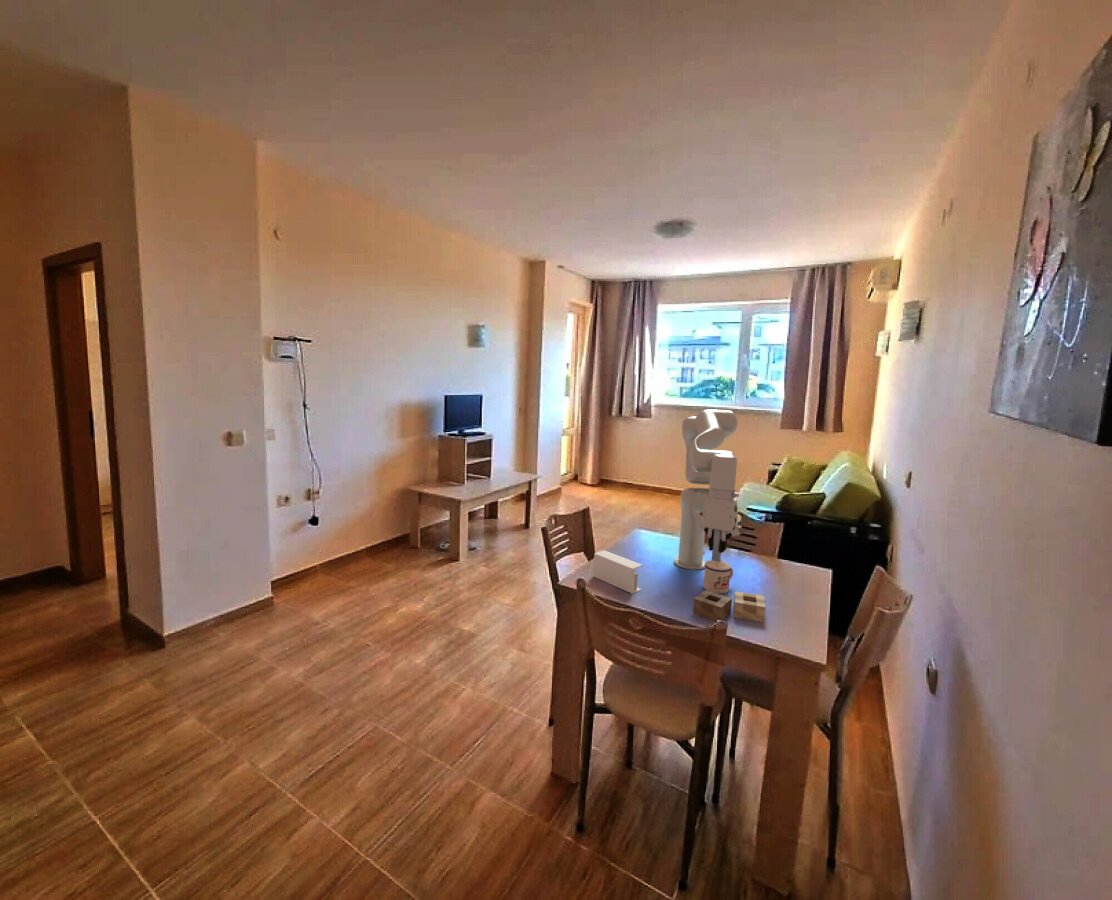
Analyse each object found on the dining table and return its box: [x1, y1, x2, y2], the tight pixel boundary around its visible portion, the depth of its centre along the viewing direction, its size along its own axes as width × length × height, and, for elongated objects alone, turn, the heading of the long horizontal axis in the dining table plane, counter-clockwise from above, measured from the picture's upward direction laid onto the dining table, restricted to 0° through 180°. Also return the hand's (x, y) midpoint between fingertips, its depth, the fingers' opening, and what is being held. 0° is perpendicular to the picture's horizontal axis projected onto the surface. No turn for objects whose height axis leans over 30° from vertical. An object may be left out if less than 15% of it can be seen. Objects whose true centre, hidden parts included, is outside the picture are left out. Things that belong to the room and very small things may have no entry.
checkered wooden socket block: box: [733, 590, 766, 623], centre depth 166 cm, size 9×9×5 cm
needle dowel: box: [711, 529, 722, 561], centre depth 162 cm, size 3×3×12 cm
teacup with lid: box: [703, 557, 734, 595], centre depth 184 cm, size 12×9×12 cm
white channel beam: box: [592, 550, 644, 595], centre depth 186 cm, size 20×6×9 cm, turn 41°
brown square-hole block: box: [692, 589, 733, 622], centre depth 165 cm, size 9×9×5 cm
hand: (716, 550), depth 162 cm, fingers closed on needle dowel, 2 cm apart
